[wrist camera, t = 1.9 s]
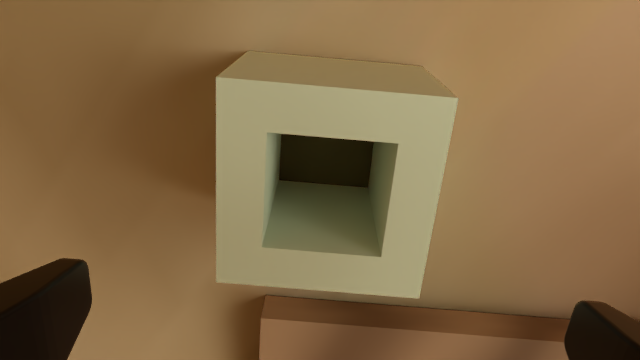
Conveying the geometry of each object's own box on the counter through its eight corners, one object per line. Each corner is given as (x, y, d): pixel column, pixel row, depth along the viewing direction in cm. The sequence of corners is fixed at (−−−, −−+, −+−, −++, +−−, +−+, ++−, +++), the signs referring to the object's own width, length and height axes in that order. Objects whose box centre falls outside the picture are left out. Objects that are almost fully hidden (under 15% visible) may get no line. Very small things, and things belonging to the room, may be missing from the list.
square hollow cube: (421, 66, 16) (458, 98, 12) (396, 221, 19) (419, 298, 14) (248, 50, 16) (215, 76, 12) (243, 208, 19) (215, 282, 14)
